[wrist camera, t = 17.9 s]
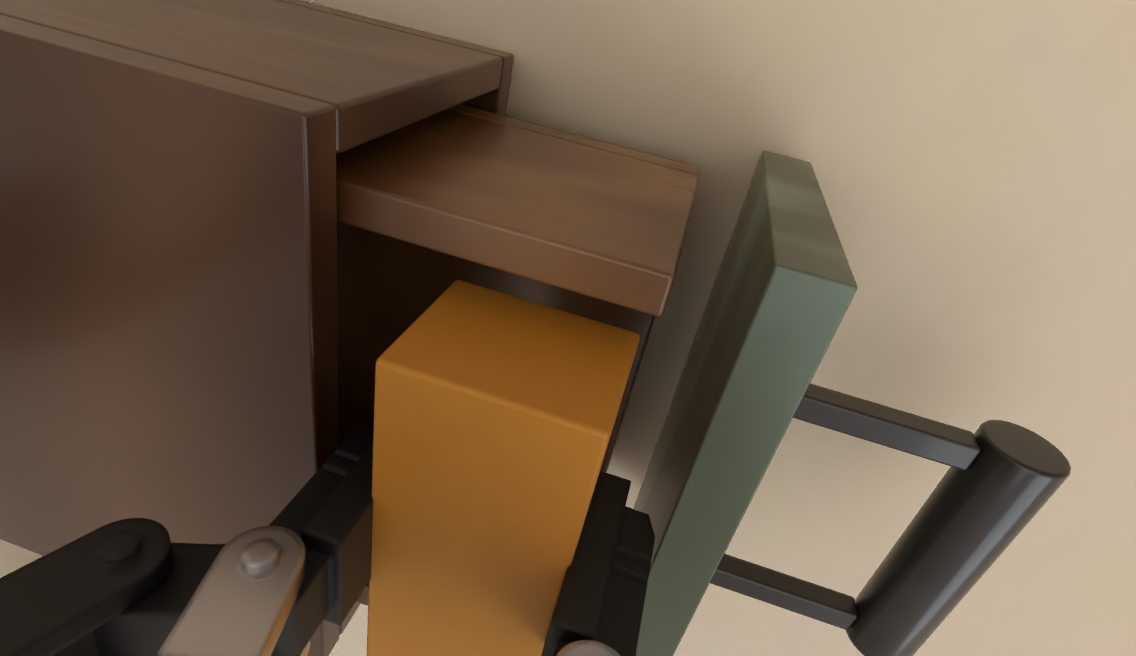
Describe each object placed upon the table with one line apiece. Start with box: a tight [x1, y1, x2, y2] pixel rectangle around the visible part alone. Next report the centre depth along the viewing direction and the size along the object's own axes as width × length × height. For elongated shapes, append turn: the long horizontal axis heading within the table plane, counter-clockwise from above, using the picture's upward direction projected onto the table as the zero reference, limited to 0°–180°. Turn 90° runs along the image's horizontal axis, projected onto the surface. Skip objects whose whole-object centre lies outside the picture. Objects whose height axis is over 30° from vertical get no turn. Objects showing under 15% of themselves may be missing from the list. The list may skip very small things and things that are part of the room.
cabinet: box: [0, 0, 513, 656], centre depth 17 cm, size 15×14×9 cm
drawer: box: [336, 104, 1071, 656], centre depth 16 cm, size 19×13×7 cm, turn 78°
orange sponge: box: [367, 280, 640, 656], centre depth 12 cm, size 8×4×3 cm, turn 169°
